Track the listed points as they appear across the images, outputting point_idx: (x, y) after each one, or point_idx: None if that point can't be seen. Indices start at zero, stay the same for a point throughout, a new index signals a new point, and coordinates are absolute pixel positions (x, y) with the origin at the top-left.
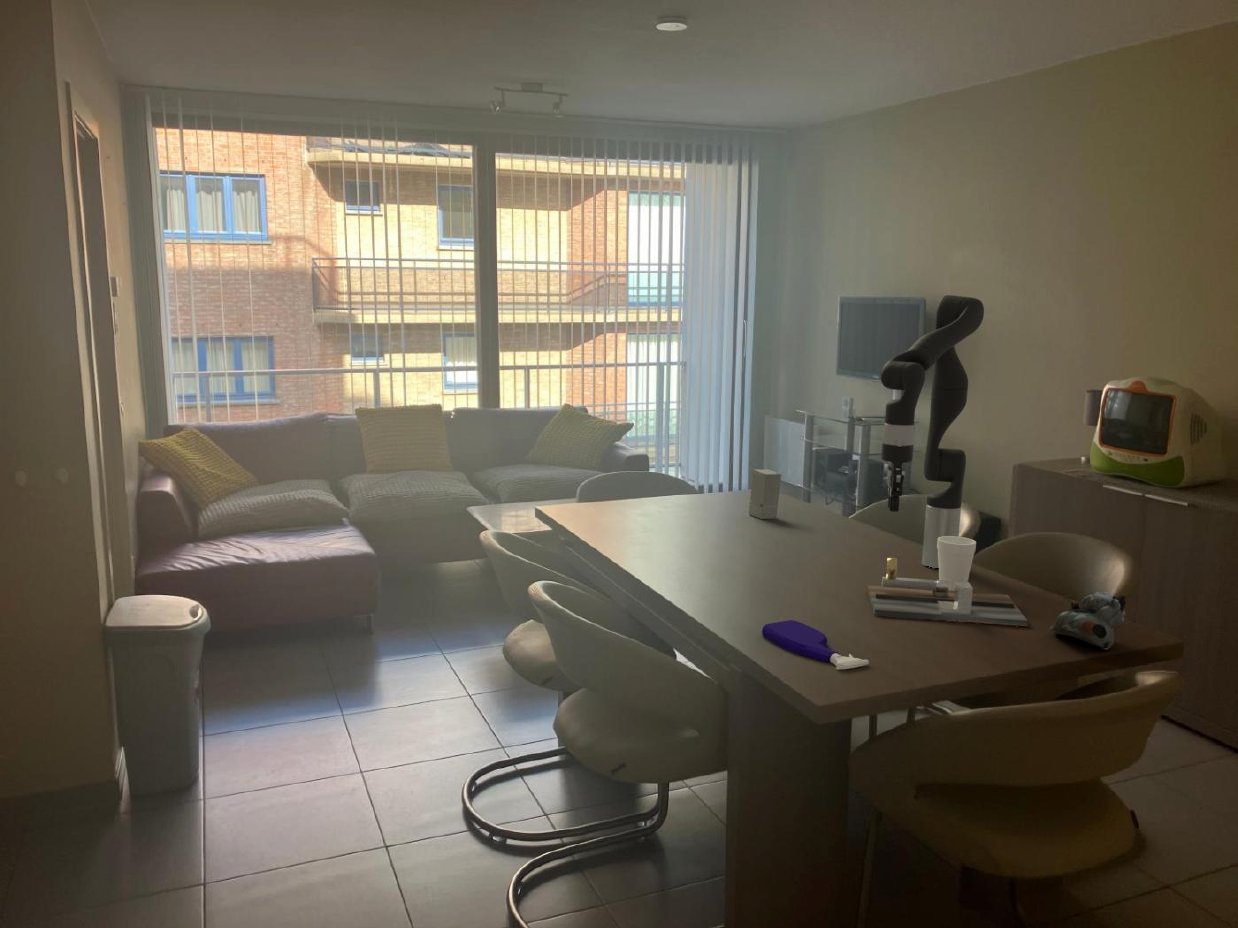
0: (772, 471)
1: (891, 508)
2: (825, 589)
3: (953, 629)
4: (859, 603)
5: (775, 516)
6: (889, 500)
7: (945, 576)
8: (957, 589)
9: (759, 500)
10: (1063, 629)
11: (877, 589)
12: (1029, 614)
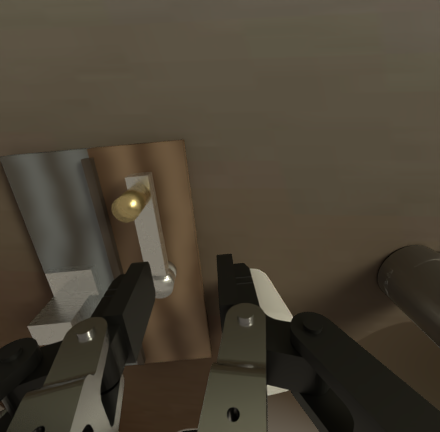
0: None
1: (121, 277)
2: (156, 36)
3: (13, 278)
4: (79, 123)
5: None
6: (218, 281)
7: None
8: (48, 317)
9: None
10: (3, 410)
11: (155, 161)
12: (151, 367)
